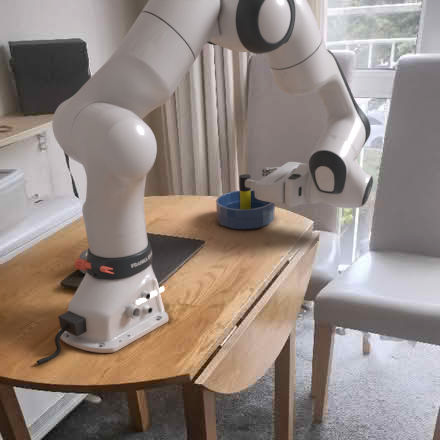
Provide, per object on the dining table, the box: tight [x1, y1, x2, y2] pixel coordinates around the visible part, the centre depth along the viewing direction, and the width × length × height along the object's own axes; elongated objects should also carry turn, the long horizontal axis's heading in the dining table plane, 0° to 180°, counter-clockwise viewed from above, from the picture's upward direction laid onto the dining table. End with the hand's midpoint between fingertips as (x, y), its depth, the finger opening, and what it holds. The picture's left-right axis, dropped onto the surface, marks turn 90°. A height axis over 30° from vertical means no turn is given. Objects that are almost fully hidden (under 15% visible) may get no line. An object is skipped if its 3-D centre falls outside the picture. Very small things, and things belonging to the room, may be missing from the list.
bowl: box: [215, 189, 276, 231], centre depth 155 cm, size 15×15×6 cm
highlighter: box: [238, 173, 252, 209], centre depth 153 cm, size 3×3×11 cm
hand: (254, 177), depth 149 cm, fingers open, 8 cm apart
